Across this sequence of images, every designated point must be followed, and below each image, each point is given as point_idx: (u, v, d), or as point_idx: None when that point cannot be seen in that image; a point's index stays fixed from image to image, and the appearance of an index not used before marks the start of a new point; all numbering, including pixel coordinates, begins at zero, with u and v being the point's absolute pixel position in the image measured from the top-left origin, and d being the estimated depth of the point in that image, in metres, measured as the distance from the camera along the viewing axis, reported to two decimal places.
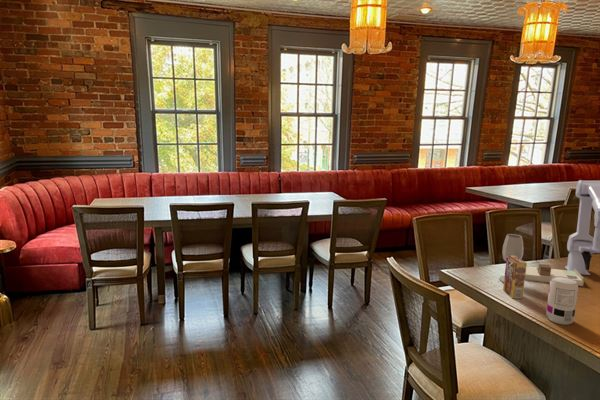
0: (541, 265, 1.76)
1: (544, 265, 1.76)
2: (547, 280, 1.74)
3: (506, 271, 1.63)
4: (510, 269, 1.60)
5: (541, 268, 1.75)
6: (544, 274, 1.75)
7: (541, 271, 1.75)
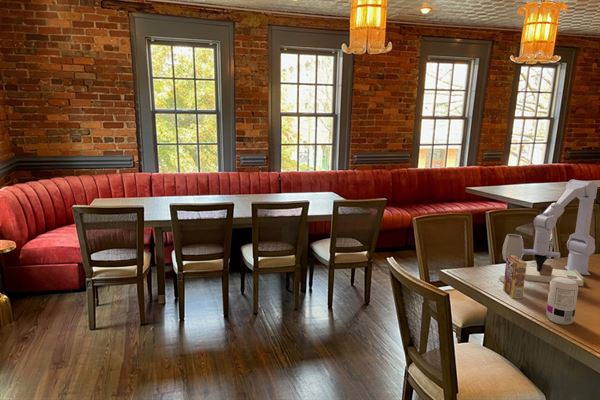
0: (543, 265, 1.76)
1: (546, 265, 1.76)
2: (547, 280, 1.74)
3: (506, 271, 1.63)
4: (510, 269, 1.60)
5: (543, 268, 1.74)
6: (545, 274, 1.74)
7: (542, 271, 1.75)
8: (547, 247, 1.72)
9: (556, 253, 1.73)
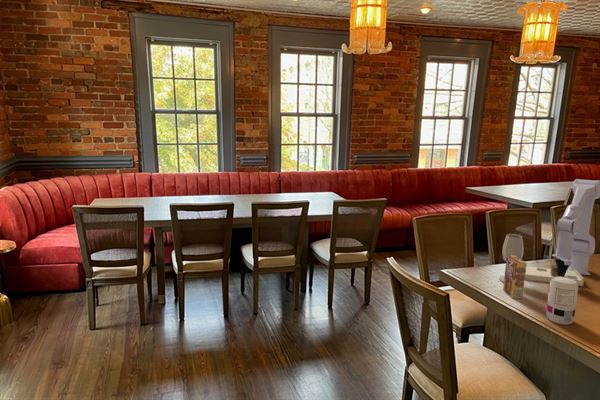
0: (553, 266, 1.75)
1: None
2: (547, 280, 1.74)
3: (506, 271, 1.63)
4: (510, 269, 1.60)
5: (553, 269, 1.74)
6: (556, 275, 1.73)
7: (553, 272, 1.74)
8: (558, 250, 1.69)
9: (567, 260, 1.64)
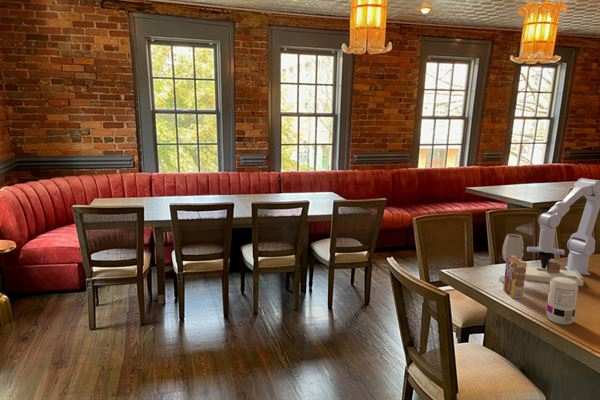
0: (550, 263, 1.79)
1: (553, 263, 1.79)
2: (547, 280, 1.74)
3: (506, 271, 1.63)
4: (510, 269, 1.60)
5: (551, 266, 1.78)
6: (553, 271, 1.78)
7: (551, 269, 1.78)
8: (551, 244, 1.77)
9: (560, 250, 1.78)
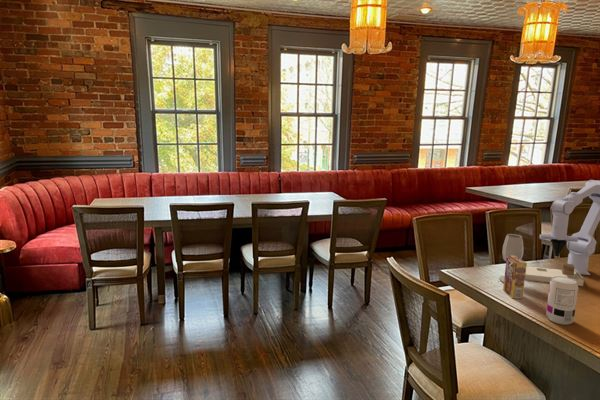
0: (565, 264, 1.77)
1: (568, 264, 1.77)
2: (547, 280, 1.74)
3: (506, 271, 1.63)
4: (510, 269, 1.60)
5: (564, 267, 1.76)
6: (567, 273, 1.76)
7: (564, 270, 1.76)
8: (565, 231, 1.74)
9: (574, 237, 1.75)
